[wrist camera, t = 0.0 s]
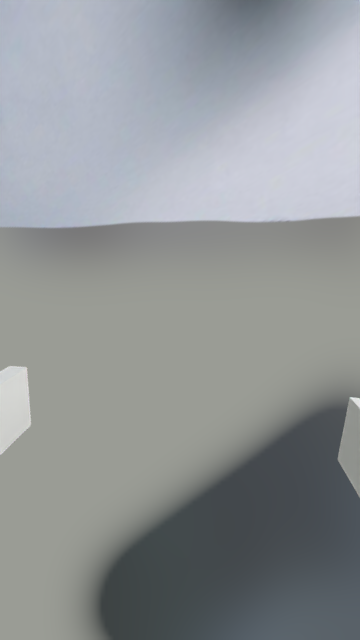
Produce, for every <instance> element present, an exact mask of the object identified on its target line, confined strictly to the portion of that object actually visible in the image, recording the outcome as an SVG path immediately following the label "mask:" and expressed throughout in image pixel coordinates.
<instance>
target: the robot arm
mask: <svg viewBox="0 0 360 640" xmlns="http://www.w3.org/2000/svg"><path fill="white" fill-rule="evenodd" d="M30 426H31V416H30V402H29V389H28V375H27V367H18V366H9V367H7V368H5V369H4V370H2V371H0V455H1V454H2V453H3V452H4V451H5V450H6V449H7V448H8V447H9V446H10V445H11V444H12V443H13V442H14V441H15V440H16V439H17V438H18V437H19V436H20V435H21V434H22V433H23V432H25V430H27V429H28V428H29V427H30ZM338 461H339V463H340V464H341V466H342V468H343V469H344V471H345V473H346V475H347V476H348V478H349V480H350V482H351V483H352V485H353V487H354V488H355V490H356V492H357V494H358V495H359V497H360V398H351V397H350V399H349V404H348V410H347V414H346V419H345V424H344V430H343V434H342V440H341V444H340V450H339V455H338Z"/></svg>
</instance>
